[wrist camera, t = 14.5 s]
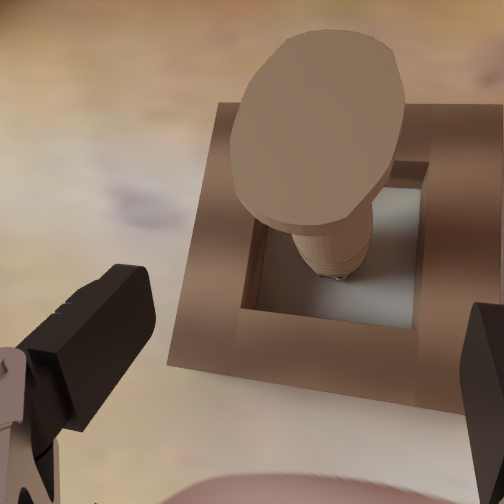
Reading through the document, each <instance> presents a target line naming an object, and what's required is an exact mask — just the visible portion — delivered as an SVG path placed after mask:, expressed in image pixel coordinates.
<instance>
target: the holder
mask: <svg viewBox="0 0 504 504" xmlns="http://www.w3.org/2000/svg"><path fill="white" fill-rule="evenodd" d="M240 104H241V103H222V102H219V103H218V108H217V113H216V118H215V123H214V128H213V133H212V138H211V143H210V148H209V153H208V158H207V164H206V169H205V174H204V179H203V184H202V189H201V194H200V199H199V204H198V209H197V214H196V219H195V224H194V229H193V234H192V239H191V244H190V249H189V254H188V259H187V264H186V269H185V274H184V279H183V285H182V290H181V295H180V300H179V305H178V310H177V315H176V320H175V325H174V330H173V335H172V340H171V345H170V350H169V355H168V360H167V366H173V367H179V368H185V369H191V370H197V371H203V372H209V373H216V374H222V375H228V376H234V377H240V378H246V379H252V380H258V381H264V382H270V383H276V384H282V385H288V386H294V387H300V388H306V389H312V390H318V391H324V392H330V393H336V394H342V395H348V396H354V397H360V398H366V399H372V400H378V401H384V402H390V403H396V404H402V405H408V406H414V407H420V408H426V409H432V410H438V411H444V412H450V413H456V414H462V415H465V411H464V405H463V399H462V393H461V387H460V379H459V368H460V358H461V353H462V348H463V344H464V339H465V335H466V330H467V326H468V321H469V317H470V312H471V308H472V306H473V304H474V302H481V303H491V304H500V267H501V209H502V152H503V105H495V104H405V109H404V119H403V125H402V130H401V135H400V139H399V143H398V147H397V151H396V155H395V159H394V162H393V166H392V170H391V173H390V176H389V178H388V181H387V182H386V184H385V185H384V186H383V187H397V188H417V189H421V197H420V213H419V228H418V243H417V258H416V273H415V288H414V303H413V319H412V330H408V329H401V328H393V327H385V326H377V325H369V324H361V323H353V322H345V321H337V320H329V319H321V318H313V317H305V316H297V315H290V314H282V313H274V312H266V311H258V310H256V303H257V297H258V290H259V284H260V277H261V271H262V264H263V258H264V251H265V245H266V238H267V232H268V226H267V225H266V224H264V223H262V222H260V221H259V220H258V219H257V218H255V217H254V216H253V215H252V214H251V213H250V212H249V211H248V210H247V209H246V208H245V206H244V205H243V204H242V203H241V201H240V200H239V198H238V197H237V195H236V193H235V186H234V180H233V173H232V166H231V157H230V137H231V132H232V128H233V124H234V121H235V118H236V115H237V112H238V109H239V107H240Z"/></svg>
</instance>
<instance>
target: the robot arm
mask: <svg viewBox="0 0 504 504" xmlns="http://www.w3.org/2000/svg"><path fill="white" fill-rule="evenodd" d="M155 323H156V313H155V308H154V302H153V297H152V291H151V286H150V280H149V275H148V272H147V270H146V268H145V267H143V266H135V265H125V264H115V265H113V266H112V267H111V268H110V269H109V270H108V271H107V272H106V273H105V274H104V275H103V276H102V277H101V278H100V279H99V280H95V281H93V282H91V283H89V284H87V285H86V286H84V287H82V288H80V289H78V290H77V291H76V292H75V293H74V294H73V295H72V296H71V297H70V298H68V299H67V300H66V301H65V304H62V305H61V306H60V307H59V308H58V309H57V310H55V313H54V314H51V315H50V316H49V317H48V318H47V319H46V320H45V321H44V322H42V323H41V324H40V325H39V326H38V327H37V328H36V329H35V330H34V331H33V332H32V333H31V334H29V335H28V336H27V337H26V338H25V339H24V340H23V341H22V342H21V343H20V344H19V345H18V346H16V347H15V348H12V347H3V348H0V504H60V473H59V445H58V441H57V439H56V436H57V435H58V434H59V432H60V431H61V430H62V428H64V429H69V430H74V431H78V432H83V431H84V429H85V428H86V427H87V425H88V424H89V422H90V421H91V420H92V418H93V417H94V415H95V414H96V413H97V411H98V410H99V409H100V407H101V406H102V404H103V403H104V402H105V400H106V399H107V397H108V396H109V395H110V393H111V392H112V390H113V389H114V388H115V386H116V385H117V383H118V382H119V381H120V379H121V378H122V376H123V375H124V374H125V372H126V371H127V369H128V368H129V367H130V365H131V364H132V363H133V361H134V360H135V358H136V357H137V356H138V354H139V353H140V351H141V350H142V349H143V347H144V346H145V344H146V343H147V342H148V340H149V339H150V337H151V336H152V334H153V331H154V328H155ZM459 379H460V387H461V393H462V399H463V405H464V411H465V416H466V422H467V428H468V434H469V440H470V446H471V452H472V458H473V464H474V470H475V476H476V481H477V487H478V493H479V499H480V504H504V305H501V304H491V303H481V302H474V304H473V306H472V308H471V312H470V317H469V321H468V326H467V330H466V335H465V339H464V344H463V348H462V353H461V358H460V368H459ZM95 504H96V503H95Z"/></svg>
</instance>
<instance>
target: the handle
mask: <svg viewBox="0 0 504 504" xmlns="http://www.w3.org/2000/svg"><path fill="white" fill-rule="evenodd" d="M404 109H405V100H404V91H403V86H402V82H401V78H400V75H399V71H398V68H397V64H396V61H395V58H394V54H393V51H392V50H391V49H390V48H388V47H387V46H386V45H385V44H383V43H382V42H380V41H378V40H376V39H375V38H373V37H370V36H367V35H364V34H361V33H357V32H351V31H345V30H318V31H310V32H307V33H303V34H300V35H297V36H294V37H292V38H289V39H287V40H286V41H285V42H284V43H283V44H282V45H281V46H280V47H279V48H278V49H277V50H276V52H275V53H274V54H273V55H272V56H271V57H270V58H269V59H268V60H267V61H266V62H265V63H264V65H263V66H262V67H261V68H260V69H259V70H258V71H257V73H256V74H255V75H254V77H253V78H252V80H251V81H250V82H249V84H248V87H247V89H246V91H245V93H244V95H243V98H242V101H241V104H240V107H239V109H238V112H237V115H236V118H235V121H234V124H233V128H232V132H231V137H230V157H231V166H232V173H233V180H234V186H235V193H236V195H237V197H238V198H239V200H240V201H241V203H242V204H243V205H244V206H245V208H246V209H247V210H248V211H249V212H250V213H251V214H252V215H253V216H254V217H255V218H257V219H258V220H259V221H260V222H262V223H264V224H266V225H267V226H269V227H271V228H273V229H276V230H279V231H282V232H286V233H289V234H292V237H293V240H294V243H295V245H296V247H297V249H298V251H299V253H300V255H301V256H302V258H303V259H304V260H305V262H306V263H307V264H308V265H309V266H310V267H311V268H312V269H313V271H314V272H315V273H316V274H317V275H318V276H320V277H323V276H328V277H332V278H334V279H336V280H337V281H344V280H346V278H347V276H348V275H349V274H350V273H352V272H353V271H355V270H356V269H357V268H358V267H360V266H361V265H362V264H363V262H364V260H365V257H366V254H367V252H368V249H369V245H370V241H371V236H372V229H373V216H372V204H371V202H372V201H373V200H374V198H375V197H376V196H377V194H378V193H379V192H380V190H381V189H382V188H383V186H384V185H385V184H386V182H387V181H388V178H389V176H390V173H391V170H392V166H393V162H394V159H395V155H396V151H397V147H398V143H399V139H400V135H401V130H402V125H403V119H404Z"/></svg>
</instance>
